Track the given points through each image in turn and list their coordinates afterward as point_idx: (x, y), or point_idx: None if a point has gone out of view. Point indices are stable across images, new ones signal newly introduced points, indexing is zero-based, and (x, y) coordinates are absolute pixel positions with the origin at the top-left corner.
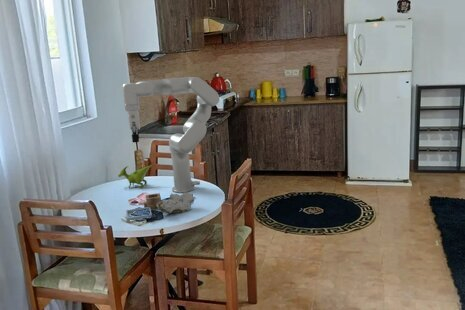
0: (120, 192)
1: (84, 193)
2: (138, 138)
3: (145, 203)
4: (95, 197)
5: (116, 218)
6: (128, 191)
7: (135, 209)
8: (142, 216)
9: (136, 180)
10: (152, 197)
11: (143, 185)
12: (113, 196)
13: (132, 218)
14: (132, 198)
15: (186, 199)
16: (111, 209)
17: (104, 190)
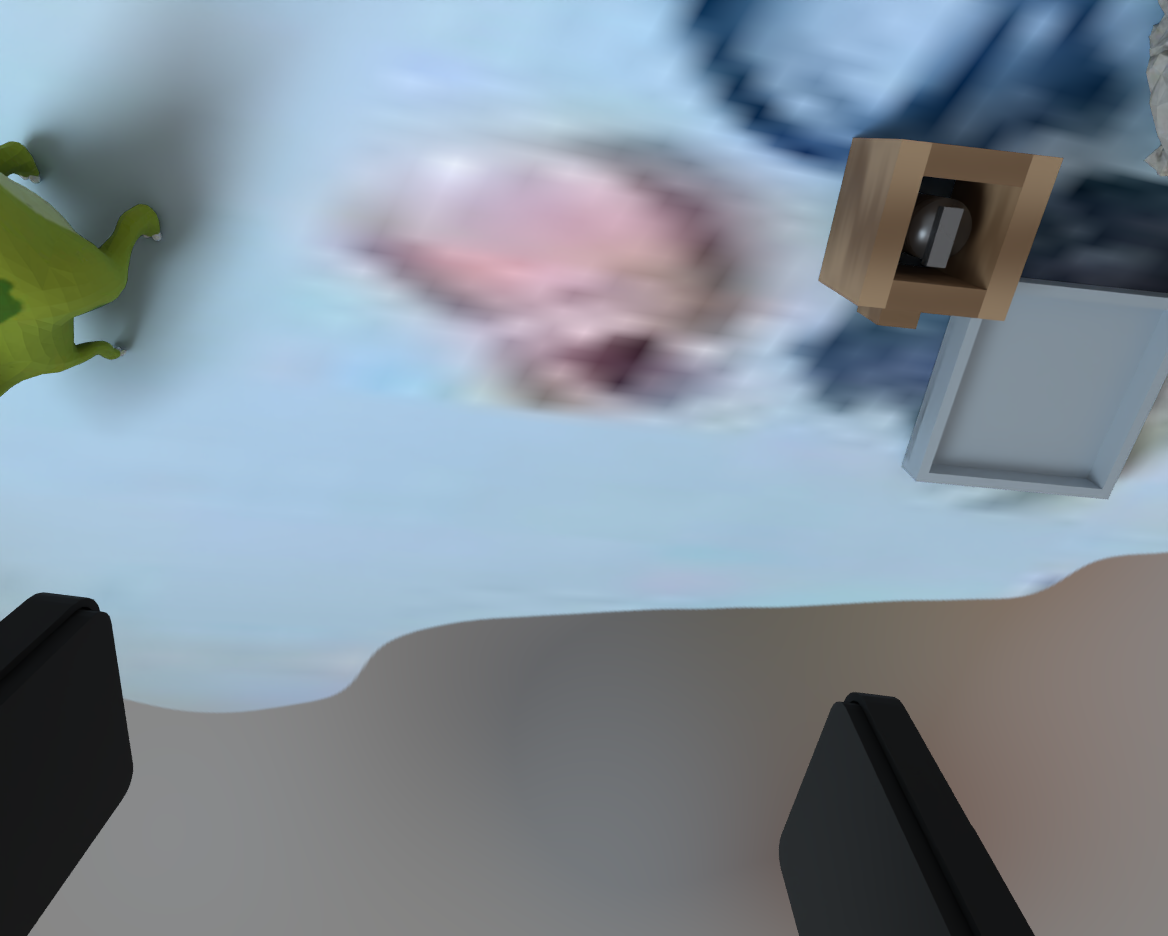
0: (247, 445)
1: (163, 693)
2: (951, 806)
3: (919, 313)
4: (315, 631)
5: (941, 538)
6: (242, 374)
7: (950, 408)
8: (1160, 378)
9: (108, 294)
10: (1004, 251)
11: (142, 207)
12: (352, 510)
13: (1120, 453)
14: (499, 369)
15: None
16: (705, 552)
17: (125, 560)
